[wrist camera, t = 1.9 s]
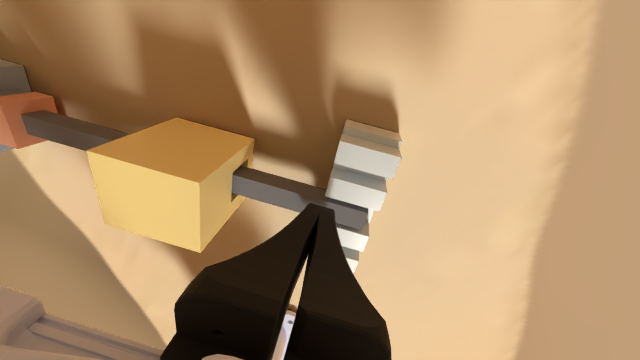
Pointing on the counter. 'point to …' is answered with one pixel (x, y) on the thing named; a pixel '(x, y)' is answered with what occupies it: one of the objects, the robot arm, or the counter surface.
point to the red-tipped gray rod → (46, 124)
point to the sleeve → (170, 181)
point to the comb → (362, 177)
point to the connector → (12, 83)
